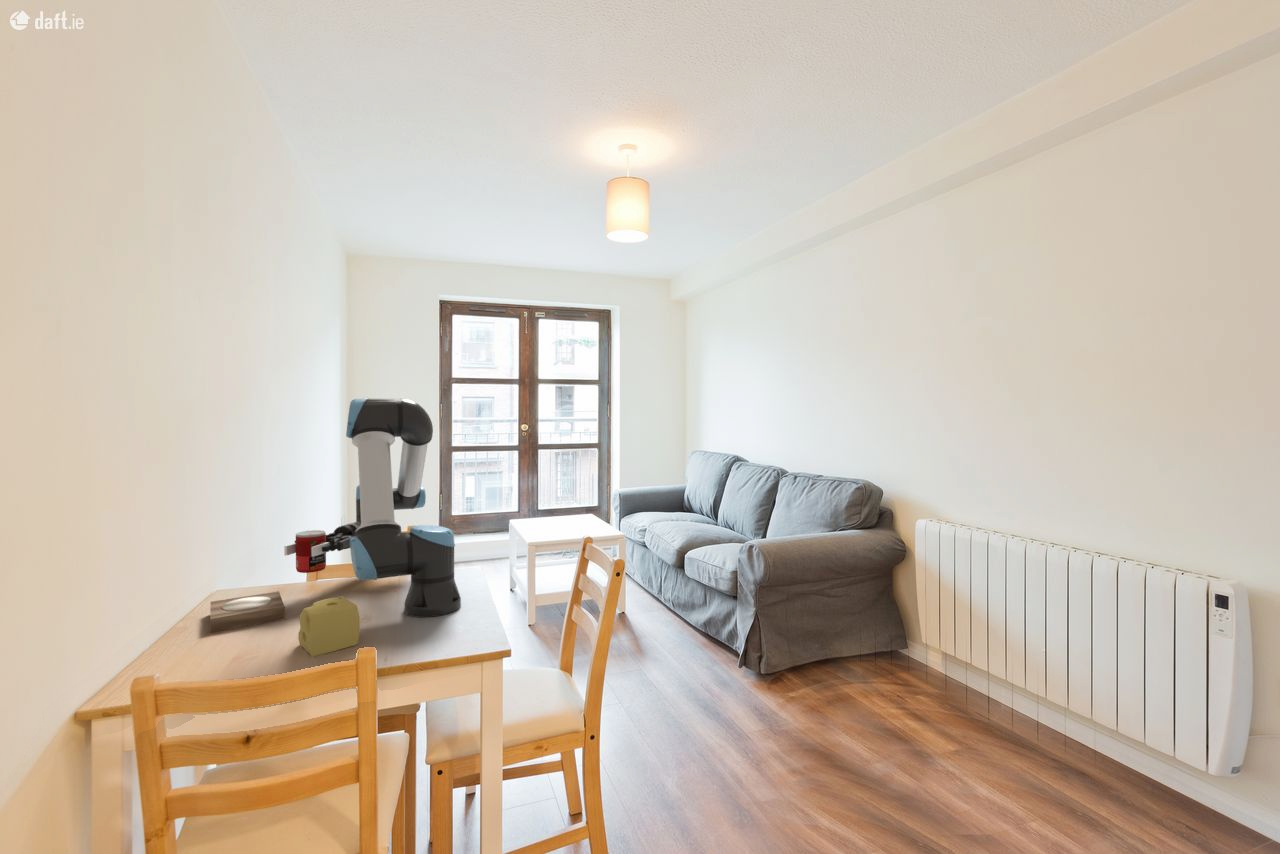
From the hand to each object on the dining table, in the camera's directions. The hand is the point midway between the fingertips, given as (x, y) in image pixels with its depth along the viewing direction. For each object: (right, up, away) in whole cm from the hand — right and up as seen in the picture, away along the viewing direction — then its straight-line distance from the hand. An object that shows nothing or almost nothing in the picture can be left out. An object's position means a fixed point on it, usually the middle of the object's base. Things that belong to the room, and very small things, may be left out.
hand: (299, 551), depth 167 cm
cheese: (+24, -17, -28) cm, 40 cm away
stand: (-9, -16, -9) cm, 20 cm away
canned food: (+1, -7, +5) cm, 8 cm away
